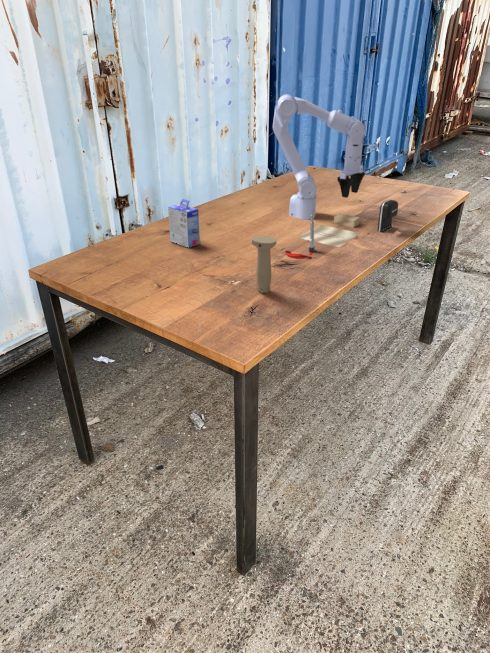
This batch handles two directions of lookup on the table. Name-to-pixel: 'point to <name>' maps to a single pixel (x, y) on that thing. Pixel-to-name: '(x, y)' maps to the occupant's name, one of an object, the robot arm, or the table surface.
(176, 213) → the ink cartridge box
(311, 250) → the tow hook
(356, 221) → the block
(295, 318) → the table surface
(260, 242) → the handle
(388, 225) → the battery charger
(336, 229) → the beige square mat
